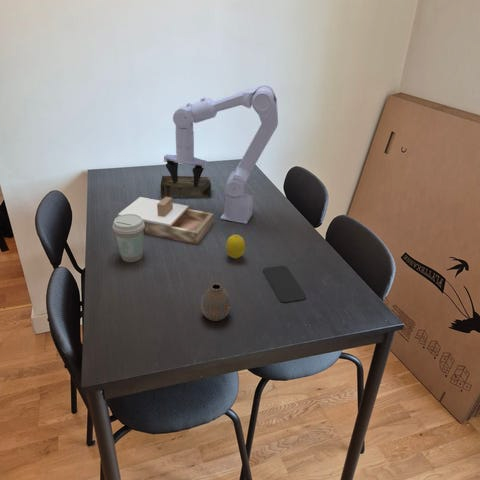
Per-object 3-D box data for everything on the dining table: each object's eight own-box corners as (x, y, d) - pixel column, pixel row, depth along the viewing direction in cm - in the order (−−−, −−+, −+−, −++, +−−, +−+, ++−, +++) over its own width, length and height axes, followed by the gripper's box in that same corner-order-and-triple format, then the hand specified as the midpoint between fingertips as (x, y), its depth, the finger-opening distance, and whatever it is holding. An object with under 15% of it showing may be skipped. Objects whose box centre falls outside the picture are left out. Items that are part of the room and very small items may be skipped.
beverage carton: (211, 198, 149) (211, 182, 145) (160, 198, 146) (159, 182, 143) (210, 190, 155) (210, 174, 152) (161, 190, 153) (160, 174, 150)
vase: (195, 317, 92) (194, 288, 87) (212, 302, 97) (213, 273, 92) (218, 329, 89) (219, 300, 84) (235, 313, 94) (237, 284, 89)
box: (213, 224, 131) (213, 213, 129) (197, 244, 120) (197, 233, 117) (164, 214, 135) (164, 204, 133) (144, 233, 124) (143, 222, 121)
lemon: (240, 251, 117) (241, 228, 113) (247, 261, 113) (248, 238, 109) (222, 254, 115) (223, 231, 111) (229, 264, 111) (230, 241, 107)
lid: (188, 208, 131) (188, 195, 128) (170, 226, 119) (169, 213, 117) (140, 198, 135) (139, 186, 132) (118, 216, 123) (116, 202, 121)
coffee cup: (111, 254, 112) (106, 218, 106) (138, 245, 117) (135, 210, 111) (124, 268, 107) (120, 230, 101) (152, 258, 112) (149, 222, 106)
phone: (281, 302, 98) (261, 268, 110) (280, 305, 98) (261, 270, 110) (307, 298, 100) (285, 265, 112) (307, 300, 100) (285, 267, 112)
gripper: (210, 144, 127) (209, 183, 134) (169, 138, 130) (171, 176, 137) (202, 151, 121) (202, 191, 128) (160, 144, 125) (162, 184, 132)
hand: (185, 184), depth 133 cm, fingers open, 7 cm apart
